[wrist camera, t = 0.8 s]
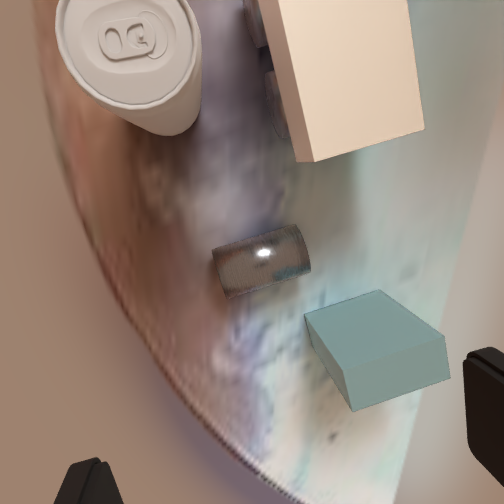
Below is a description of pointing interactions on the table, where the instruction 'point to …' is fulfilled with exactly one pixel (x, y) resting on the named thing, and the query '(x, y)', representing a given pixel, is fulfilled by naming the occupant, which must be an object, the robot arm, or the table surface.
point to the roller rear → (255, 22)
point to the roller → (261, 261)
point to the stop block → (376, 349)
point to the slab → (343, 73)
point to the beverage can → (135, 59)
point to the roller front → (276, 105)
